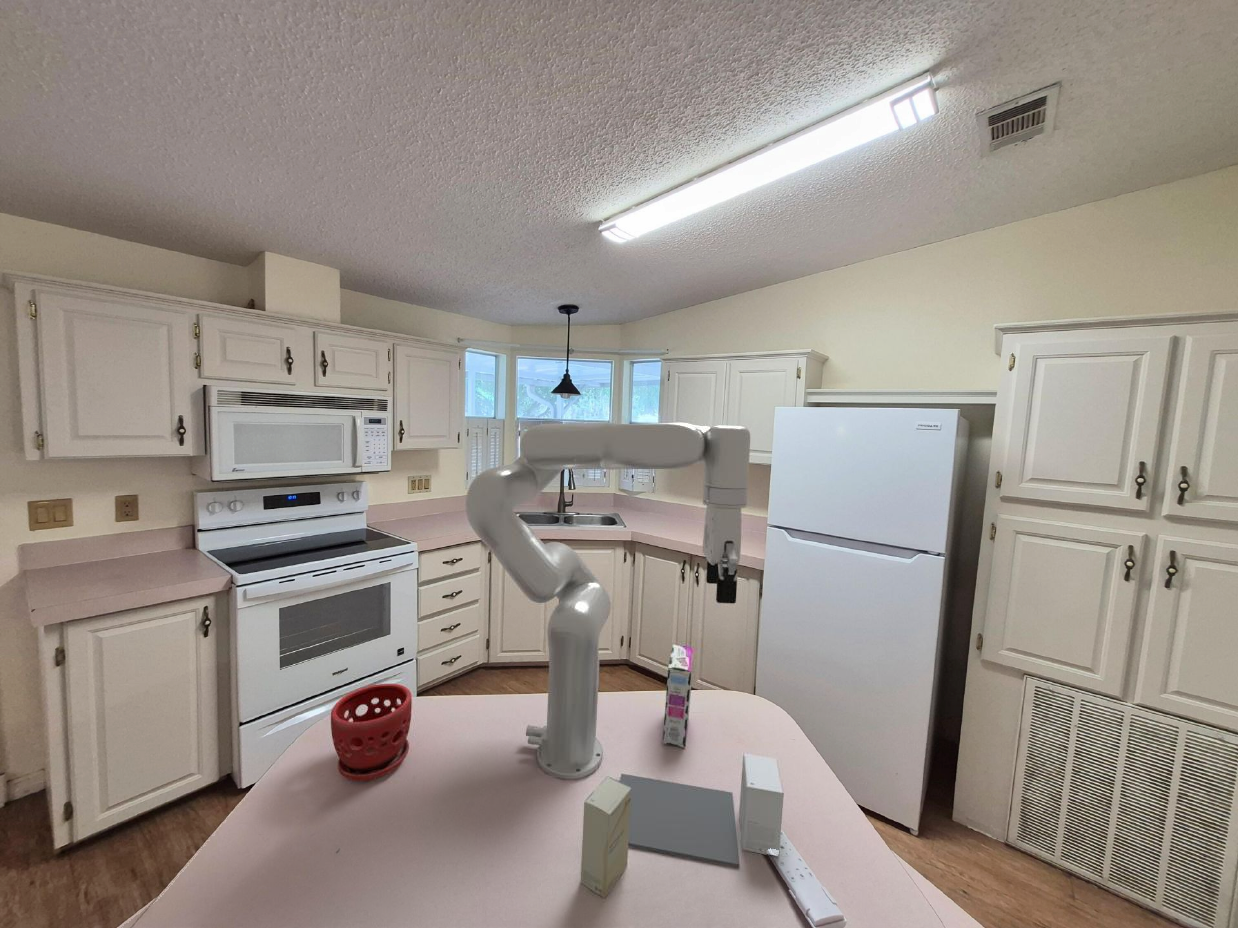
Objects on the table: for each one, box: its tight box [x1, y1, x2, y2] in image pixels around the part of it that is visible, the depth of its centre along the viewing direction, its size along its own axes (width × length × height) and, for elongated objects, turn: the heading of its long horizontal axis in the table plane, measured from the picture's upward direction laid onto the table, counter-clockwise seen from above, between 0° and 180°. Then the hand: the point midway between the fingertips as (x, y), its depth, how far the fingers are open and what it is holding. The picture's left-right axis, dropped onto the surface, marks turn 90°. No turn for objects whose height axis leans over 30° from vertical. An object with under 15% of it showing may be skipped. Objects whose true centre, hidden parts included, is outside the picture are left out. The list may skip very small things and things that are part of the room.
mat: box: [619, 773, 741, 869], centre depth 78 cm, size 20×14×1 cm
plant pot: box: [330, 683, 413, 782], centre depth 86 cm, size 13×13×12 cm
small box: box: [738, 752, 785, 856], centre depth 76 cm, size 8×6×10 cm
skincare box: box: [580, 775, 631, 898], centre depth 67 cm, size 6×4×12 cm
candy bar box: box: [661, 644, 695, 749], centre depth 100 cm, size 11×5×16 cm, turn 169°
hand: (720, 592), depth 83 cm, fingers open, 9 cm apart
